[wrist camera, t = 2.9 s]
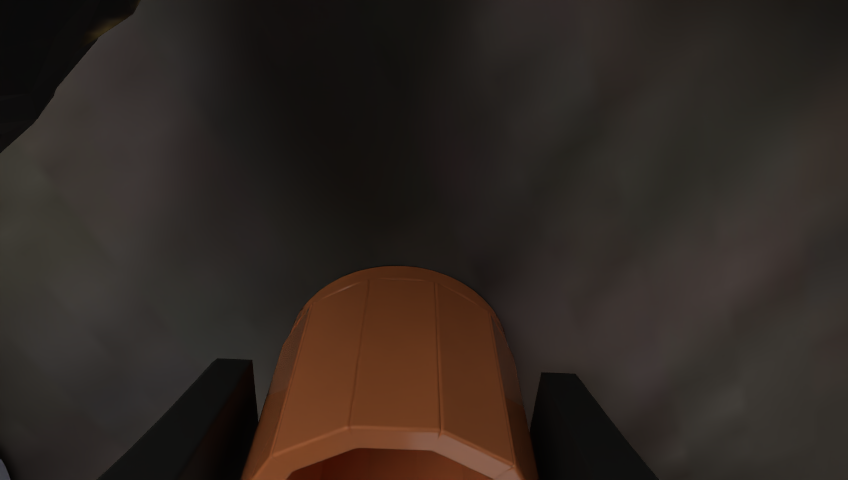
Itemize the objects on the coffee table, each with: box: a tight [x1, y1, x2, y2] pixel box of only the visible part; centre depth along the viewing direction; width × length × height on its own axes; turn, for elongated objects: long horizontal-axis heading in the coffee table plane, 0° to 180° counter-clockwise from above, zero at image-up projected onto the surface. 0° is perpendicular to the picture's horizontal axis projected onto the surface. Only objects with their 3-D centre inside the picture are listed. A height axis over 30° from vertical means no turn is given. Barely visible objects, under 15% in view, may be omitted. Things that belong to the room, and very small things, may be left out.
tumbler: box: [241, 266, 539, 480], centre depth 10 cm, size 4×4×4 cm
